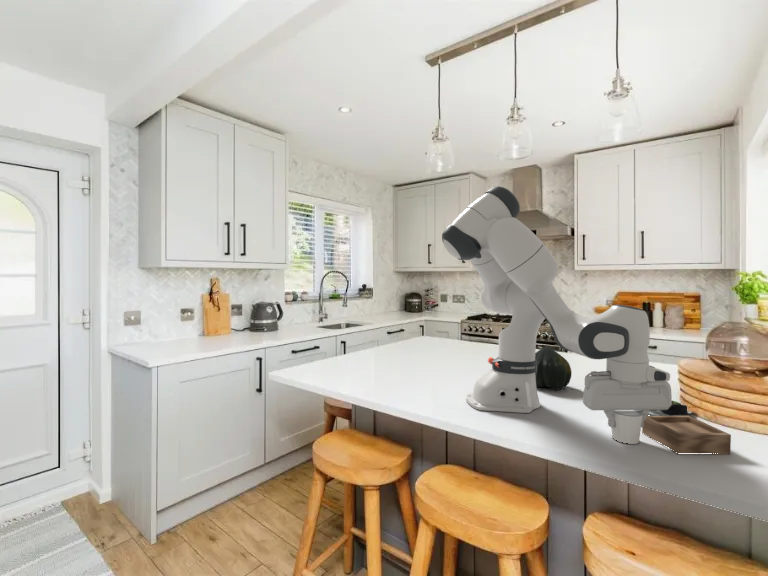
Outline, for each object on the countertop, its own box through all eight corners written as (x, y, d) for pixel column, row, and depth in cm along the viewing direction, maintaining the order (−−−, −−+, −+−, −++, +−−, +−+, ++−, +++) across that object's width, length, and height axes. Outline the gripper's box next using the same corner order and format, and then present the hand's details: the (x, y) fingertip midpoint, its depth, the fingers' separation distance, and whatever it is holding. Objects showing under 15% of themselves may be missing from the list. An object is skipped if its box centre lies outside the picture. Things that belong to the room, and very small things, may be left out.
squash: (554, 380, 130) (567, 343, 136) (514, 373, 142) (528, 339, 148) (569, 402, 137) (581, 366, 143) (530, 394, 148) (543, 360, 155)
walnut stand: (678, 454, 88) (678, 435, 88) (642, 433, 100) (642, 415, 100) (730, 454, 89) (730, 434, 89) (688, 432, 101) (688, 415, 101)
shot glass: (625, 446, 92) (626, 417, 92) (602, 434, 99) (603, 407, 99) (649, 443, 94) (649, 414, 94) (625, 432, 101) (625, 405, 100)
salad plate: (606, 410, 118) (607, 395, 118) (621, 397, 131) (621, 383, 131) (687, 428, 105) (688, 411, 105) (694, 411, 118) (695, 396, 118)
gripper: (592, 374, 92) (591, 432, 93) (677, 374, 93) (675, 431, 94) (578, 368, 99) (577, 422, 99) (657, 367, 99) (656, 421, 100)
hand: (625, 426), depth 96 cm, fingers closed on shot glass, 5 cm apart
